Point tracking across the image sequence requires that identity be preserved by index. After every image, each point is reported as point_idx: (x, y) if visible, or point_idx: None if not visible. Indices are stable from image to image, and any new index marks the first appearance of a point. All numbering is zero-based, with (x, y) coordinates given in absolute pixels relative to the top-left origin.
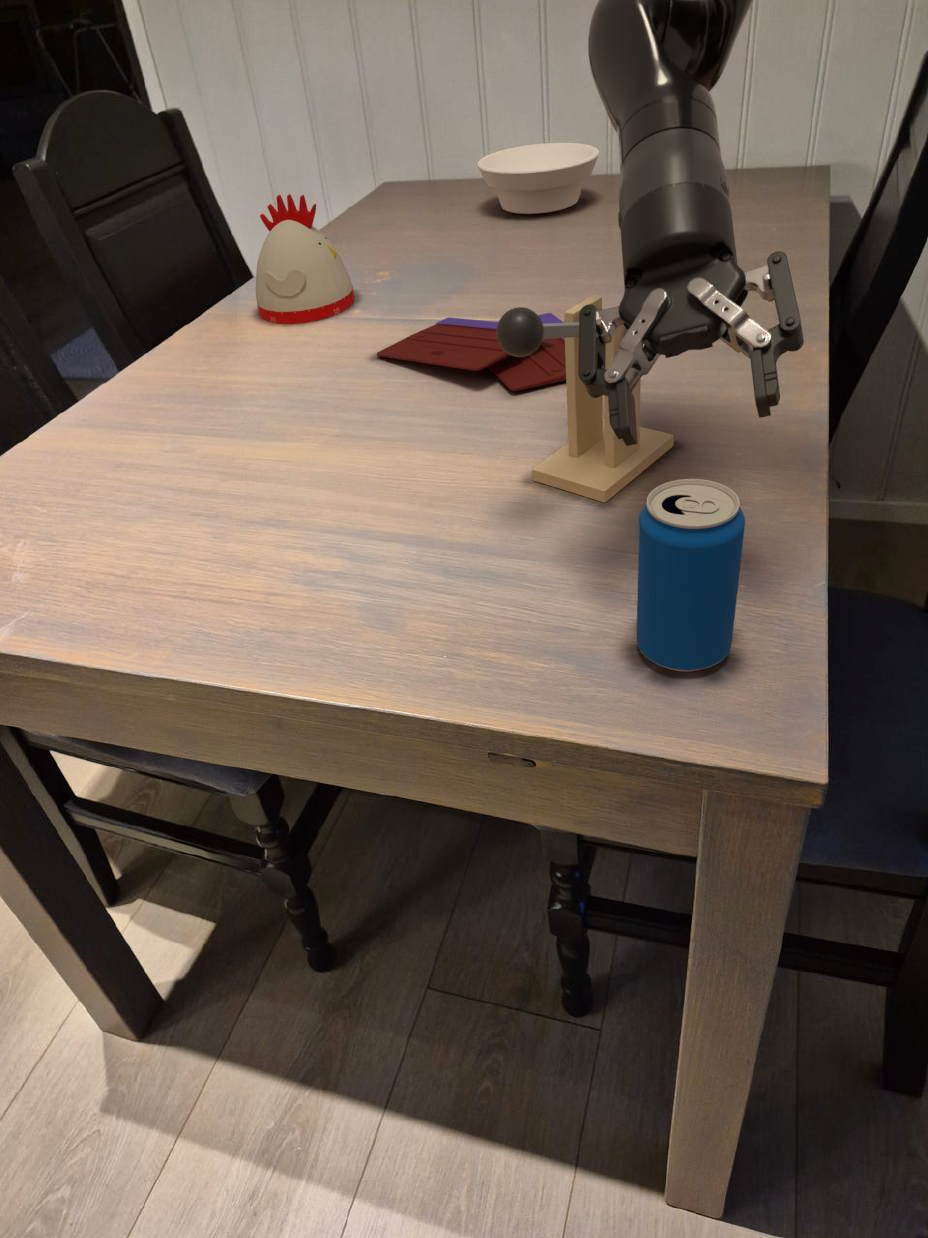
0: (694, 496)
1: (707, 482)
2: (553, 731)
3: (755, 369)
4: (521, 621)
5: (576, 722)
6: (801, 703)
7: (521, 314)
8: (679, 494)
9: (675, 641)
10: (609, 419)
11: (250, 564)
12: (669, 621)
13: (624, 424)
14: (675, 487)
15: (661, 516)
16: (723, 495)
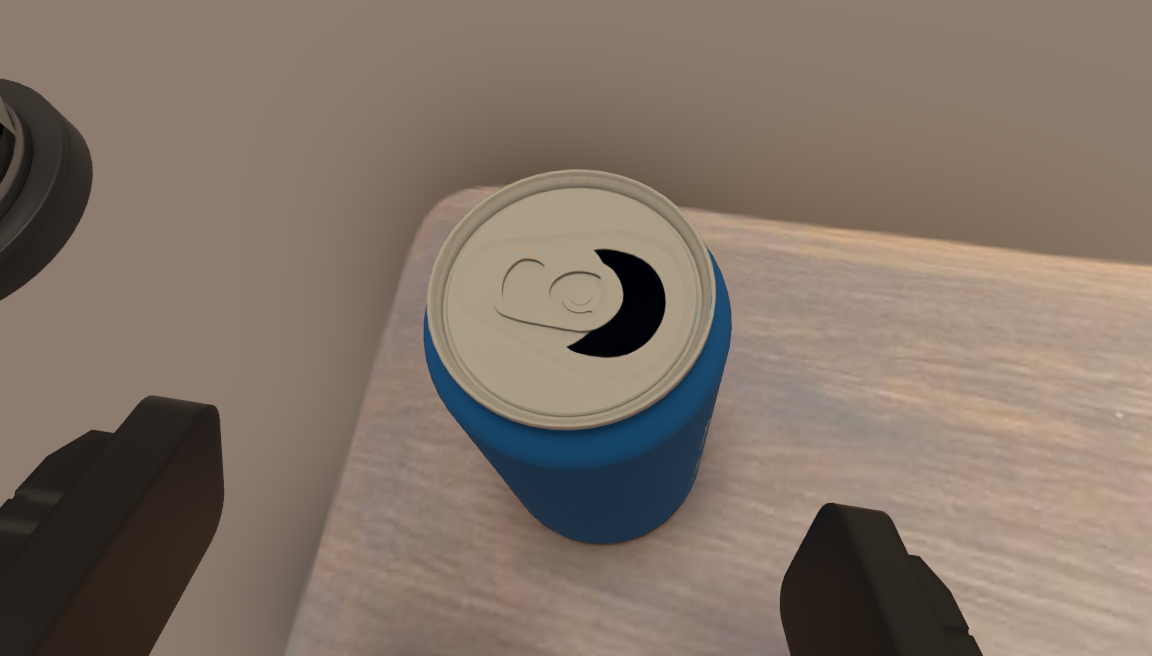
0: (559, 344)
1: (507, 411)
2: (832, 232)
3: (85, 539)
4: (977, 542)
5: (795, 253)
6: (415, 313)
7: None
8: (606, 359)
9: (623, 326)
10: (960, 617)
11: None
12: (636, 308)
13: (867, 521)
14: (617, 397)
15: (667, 232)
16: (467, 346)
